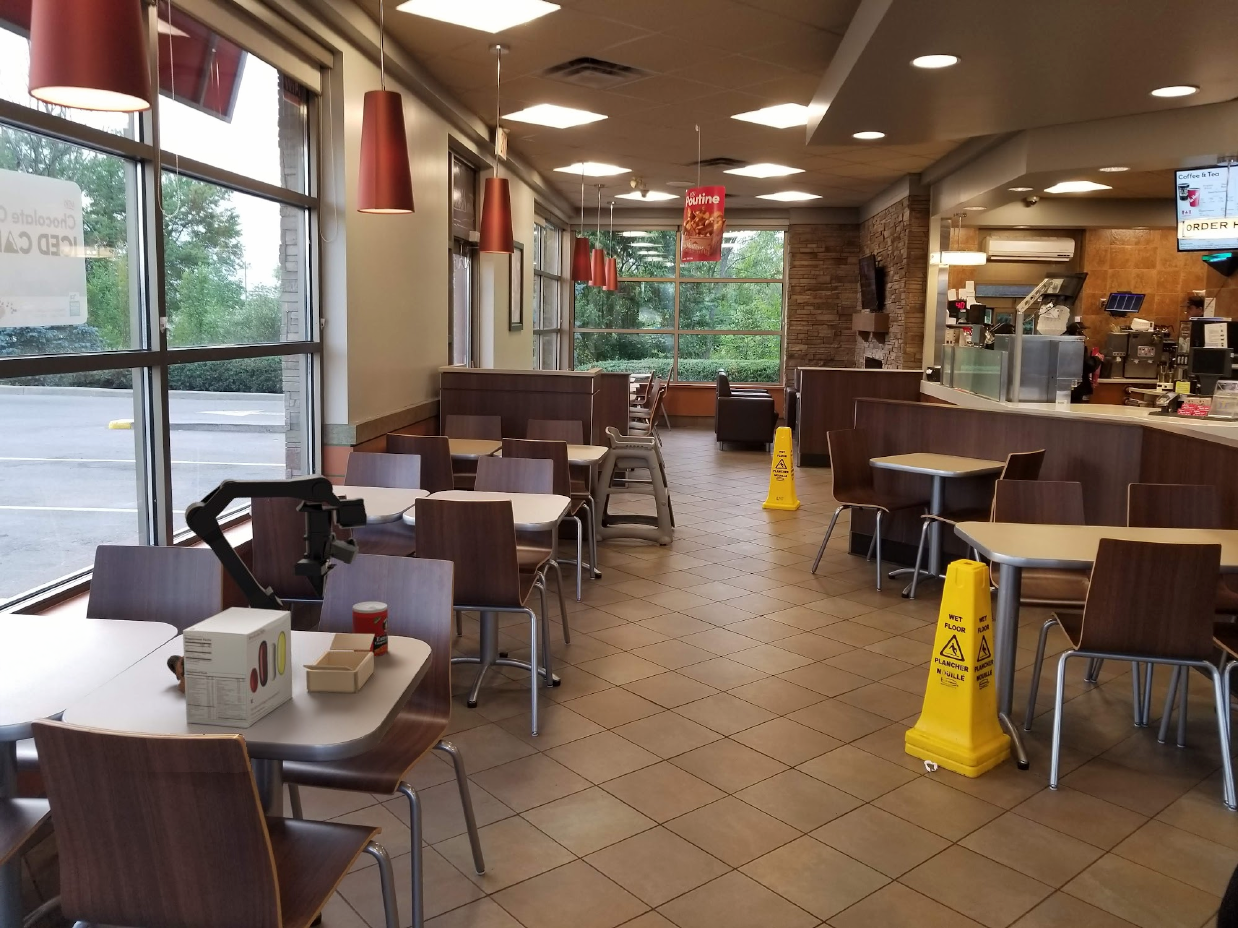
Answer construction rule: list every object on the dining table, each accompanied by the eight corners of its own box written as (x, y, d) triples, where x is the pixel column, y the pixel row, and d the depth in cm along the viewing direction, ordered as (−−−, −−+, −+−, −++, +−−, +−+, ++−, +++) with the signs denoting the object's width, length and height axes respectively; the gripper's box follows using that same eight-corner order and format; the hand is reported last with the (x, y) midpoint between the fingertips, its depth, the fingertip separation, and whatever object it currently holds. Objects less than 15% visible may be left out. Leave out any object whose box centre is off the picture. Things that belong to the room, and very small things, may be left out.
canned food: (379, 658, 223) (378, 611, 222) (347, 655, 225) (346, 608, 224) (394, 648, 231) (393, 602, 229) (362, 645, 232) (361, 600, 231)
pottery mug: (231, 679, 210) (229, 653, 205) (205, 712, 202) (202, 686, 198) (180, 662, 211) (176, 635, 206) (152, 694, 204) (148, 667, 199)
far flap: (335, 633, 218) (335, 634, 218) (329, 648, 214) (329, 649, 214) (374, 633, 218) (374, 634, 218) (369, 649, 214) (369, 650, 214)
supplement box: (250, 729, 183) (246, 634, 180) (184, 723, 185) (180, 630, 182) (295, 696, 200) (292, 609, 197) (234, 691, 202) (231, 605, 199)
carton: (305, 692, 202) (305, 670, 201) (325, 670, 215) (325, 650, 214) (358, 693, 202) (357, 671, 201) (374, 671, 215) (374, 651, 214)
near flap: (310, 668, 201) (310, 669, 201) (303, 664, 196) (303, 666, 196) (352, 669, 201) (352, 670, 201) (346, 665, 196) (346, 667, 196)
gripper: (342, 539, 214) (344, 609, 216) (365, 523, 233) (366, 587, 235) (291, 538, 214) (293, 608, 216) (318, 522, 233) (320, 586, 235)
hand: (320, 597), depth 225 cm, fingers closed
